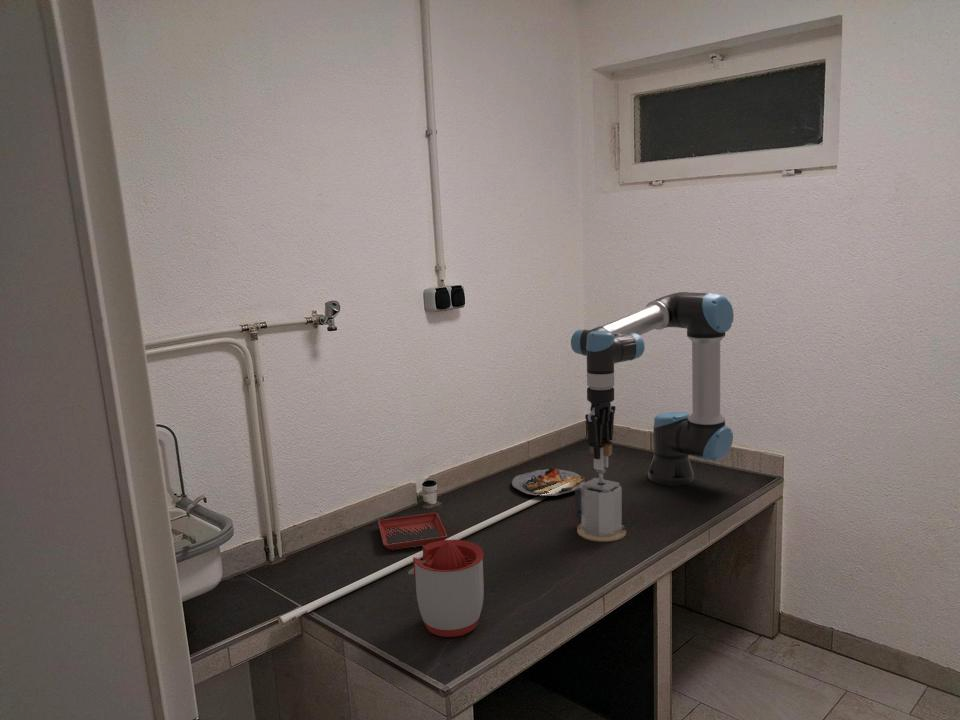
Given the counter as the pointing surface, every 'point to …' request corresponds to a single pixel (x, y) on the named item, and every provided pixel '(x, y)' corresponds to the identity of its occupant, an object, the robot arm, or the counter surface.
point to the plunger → (606, 452)
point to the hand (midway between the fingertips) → (601, 467)
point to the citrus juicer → (449, 586)
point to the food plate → (549, 481)
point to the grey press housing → (600, 511)
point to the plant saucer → (412, 523)
